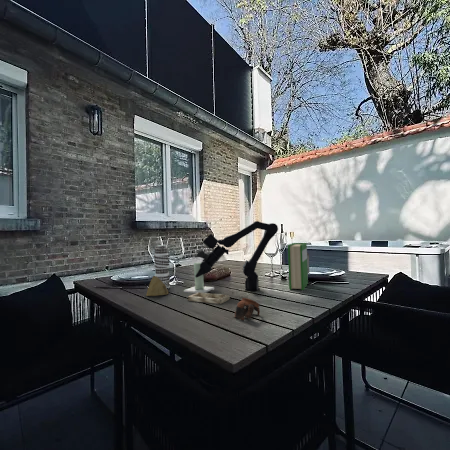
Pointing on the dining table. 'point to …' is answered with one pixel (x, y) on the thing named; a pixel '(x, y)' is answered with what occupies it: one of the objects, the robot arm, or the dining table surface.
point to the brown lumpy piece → (249, 309)
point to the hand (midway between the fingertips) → (196, 275)
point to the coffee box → (308, 262)
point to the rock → (156, 287)
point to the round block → (199, 280)
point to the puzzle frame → (209, 298)
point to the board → (193, 290)
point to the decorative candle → (162, 264)
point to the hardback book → (297, 265)
